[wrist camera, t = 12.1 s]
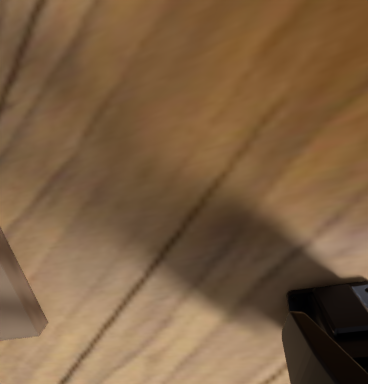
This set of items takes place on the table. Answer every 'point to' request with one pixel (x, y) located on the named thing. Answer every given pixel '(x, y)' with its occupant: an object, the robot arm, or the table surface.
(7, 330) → the comb board
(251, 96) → the table surface
